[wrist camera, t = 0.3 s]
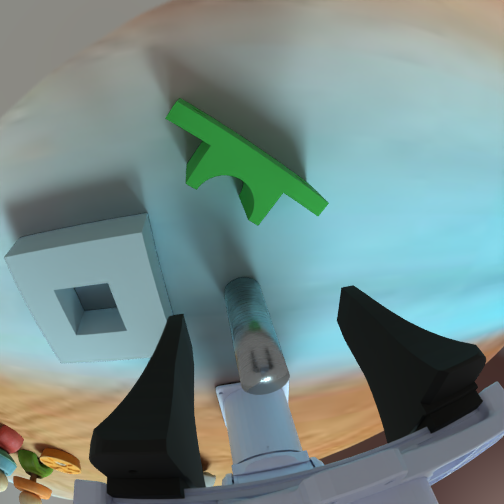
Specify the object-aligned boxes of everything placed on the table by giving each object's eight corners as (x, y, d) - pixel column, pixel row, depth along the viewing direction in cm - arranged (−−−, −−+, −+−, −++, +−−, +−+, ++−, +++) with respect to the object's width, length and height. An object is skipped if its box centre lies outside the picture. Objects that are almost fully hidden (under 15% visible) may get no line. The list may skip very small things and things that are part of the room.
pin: (261, 303, 27) (288, 389, 19) (226, 309, 26) (243, 398, 19) (259, 274, 25) (290, 361, 17) (222, 280, 25) (238, 371, 17)
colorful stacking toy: (95, 466, 41) (93, 525, 31) (38, 466, 41) (33, 515, 31) (23, 418, 32) (9, 489, 21) (-26, 421, 32) (-40, 476, 21)
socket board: (177, 329, 26) (177, 354, 24) (68, 339, 25) (60, 363, 23) (147, 212, 21) (141, 232, 18) (20, 237, 19) (3, 257, 17)
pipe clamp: (150, 143, 19) (139, 158, 15) (180, 97, 18) (175, 100, 14) (277, 219, 23) (294, 248, 19) (306, 181, 22) (329, 203, 18)
